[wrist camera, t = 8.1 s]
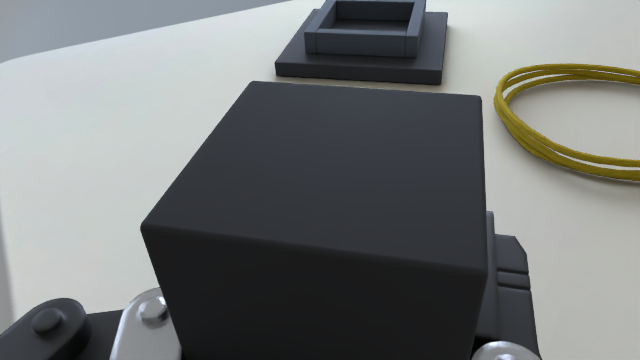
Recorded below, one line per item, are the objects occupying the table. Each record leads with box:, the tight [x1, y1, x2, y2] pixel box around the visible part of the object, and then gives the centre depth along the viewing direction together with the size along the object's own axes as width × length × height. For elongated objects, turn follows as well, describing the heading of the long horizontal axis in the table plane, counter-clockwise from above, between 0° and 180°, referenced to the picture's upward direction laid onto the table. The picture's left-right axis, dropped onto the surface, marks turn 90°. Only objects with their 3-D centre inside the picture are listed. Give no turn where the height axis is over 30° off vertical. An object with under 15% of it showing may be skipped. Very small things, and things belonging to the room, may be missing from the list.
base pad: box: [275, 0, 448, 85], centre depth 37 cm, size 11×11×2 cm
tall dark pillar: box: [140, 81, 489, 360], centre depth 11 cm, size 5×5×10 cm
